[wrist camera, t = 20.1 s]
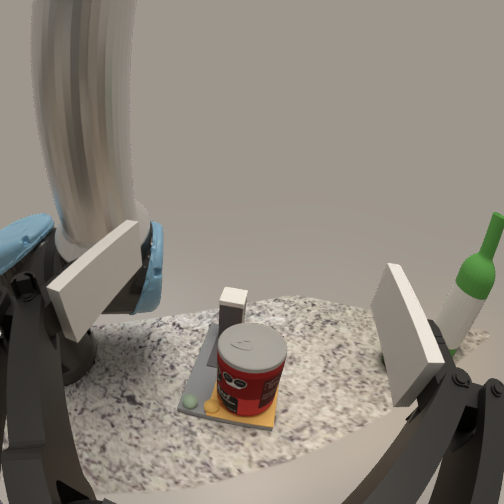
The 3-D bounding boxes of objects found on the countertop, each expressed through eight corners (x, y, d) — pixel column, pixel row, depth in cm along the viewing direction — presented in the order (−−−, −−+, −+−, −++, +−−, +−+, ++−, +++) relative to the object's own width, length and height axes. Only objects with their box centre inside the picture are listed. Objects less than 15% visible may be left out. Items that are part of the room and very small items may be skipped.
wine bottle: (456, 361, 43) (524, 228, 29) (429, 362, 44) (498, 218, 30) (445, 337, 50) (501, 212, 36) (418, 336, 51) (474, 202, 37)
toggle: (218, 338, 46) (219, 300, 42) (223, 323, 49) (225, 286, 45) (239, 342, 46) (243, 304, 42) (243, 327, 49) (247, 290, 45)
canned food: (213, 377, 39) (214, 323, 34) (267, 372, 40) (278, 319, 35) (220, 420, 32) (221, 372, 27) (279, 414, 34) (296, 365, 29)
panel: (178, 411, 34) (176, 404, 33) (211, 327, 50) (211, 318, 49) (271, 430, 32) (274, 424, 32) (282, 340, 49) (284, 332, 48)
